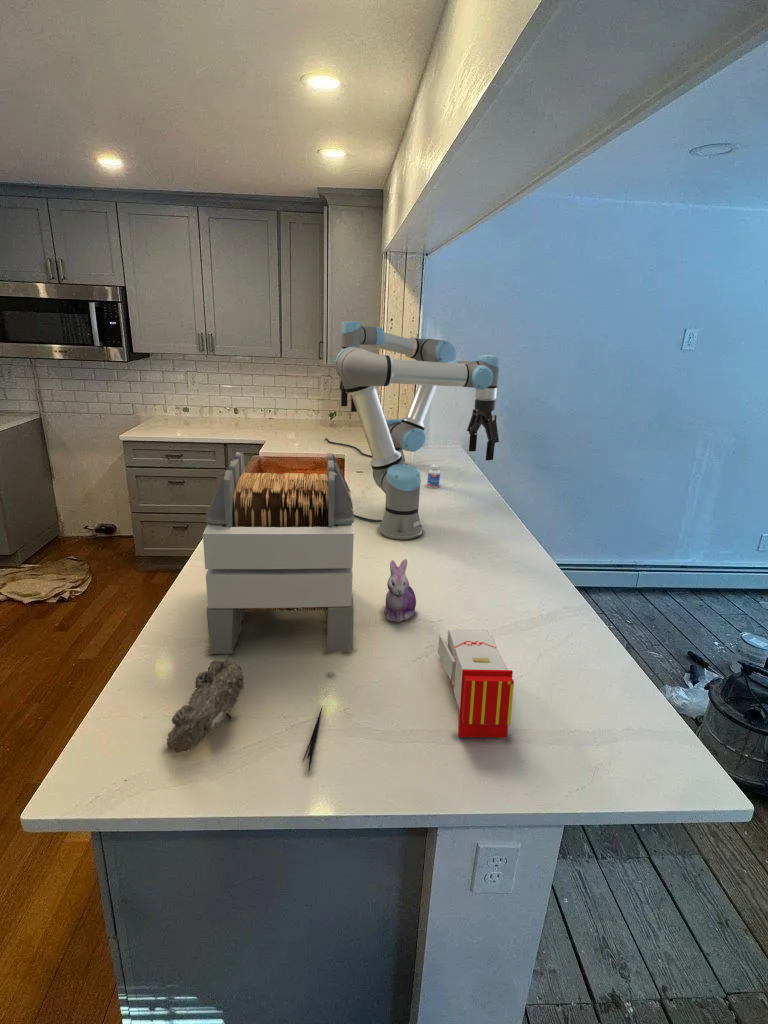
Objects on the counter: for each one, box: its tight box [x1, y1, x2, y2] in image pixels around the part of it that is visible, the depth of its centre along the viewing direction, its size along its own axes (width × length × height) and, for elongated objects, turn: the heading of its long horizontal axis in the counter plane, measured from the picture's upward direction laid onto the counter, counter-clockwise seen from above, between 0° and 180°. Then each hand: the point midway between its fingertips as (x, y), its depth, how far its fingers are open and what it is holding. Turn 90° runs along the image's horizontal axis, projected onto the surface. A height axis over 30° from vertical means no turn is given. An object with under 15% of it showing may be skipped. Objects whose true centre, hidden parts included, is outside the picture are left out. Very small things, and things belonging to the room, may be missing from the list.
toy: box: [437, 628, 515, 738], centre depth 117 cm, size 12×13×30 cm
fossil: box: [166, 658, 245, 754], centre depth 106 cm, size 22×10×15 cm
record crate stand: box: [202, 451, 355, 655], centre depth 137 cm, size 34×33×41 cm
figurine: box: [384, 558, 417, 623], centre depth 145 cm, size 9×10×15 cm
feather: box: [301, 673, 332, 771], centre depth 108 cm, size 2×28×2 cm
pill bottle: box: [426, 464, 441, 489], centre depth 254 cm, size 6×5×10 cm
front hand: (480, 455), depth 215 cm, fingers open, 13 cm apart
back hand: (349, 408), depth 250 cm, fingers open, 13 cm apart
